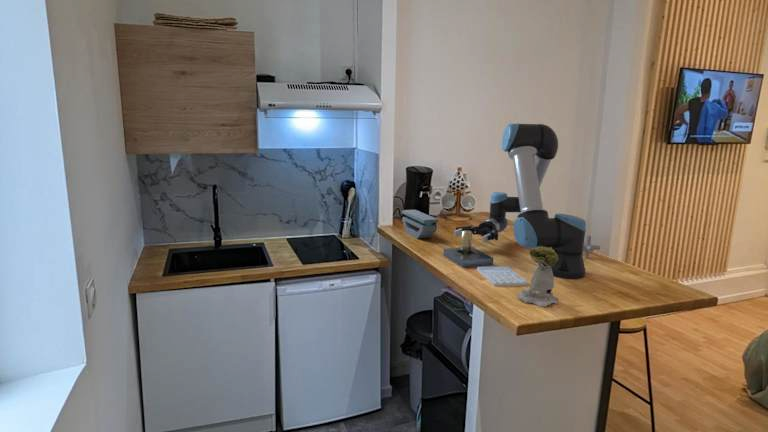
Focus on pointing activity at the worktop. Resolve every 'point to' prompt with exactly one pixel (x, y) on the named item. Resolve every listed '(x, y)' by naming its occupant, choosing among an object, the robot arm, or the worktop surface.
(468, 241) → the brushed metal cylinder
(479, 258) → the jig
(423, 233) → the grey boxy piece
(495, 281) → the calculator
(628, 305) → the worktop surface
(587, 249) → the pipe connector
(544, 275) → the mossy stone tower
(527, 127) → the robot arm
